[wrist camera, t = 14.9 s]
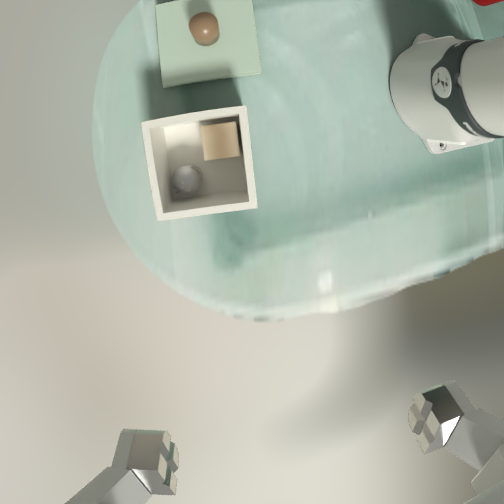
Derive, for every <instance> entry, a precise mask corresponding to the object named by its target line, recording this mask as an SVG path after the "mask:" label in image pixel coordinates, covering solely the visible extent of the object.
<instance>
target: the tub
mask: <svg viewBox="0 0 504 504" xmlns="http://www.w3.org/2000/svg"><path fill="white" fill-rule="evenodd" d="M229 122H236V127H237V136H238V144H239V153H240V156H237V157H229V158H221V159H214V160H206V161H205V159H204V151H203V144H202V136H201V128H200V126H207V125H214V124H221V123H229ZM141 124H142V131H143V138H144V145H145V152H146V159H147V165H148V171H149V177H150V183H151V189H152V194H153V200H154V205H155V210H156V216H157V221H163V220H170V219H177V218H184V217H192V216H199V215H206V214H214V213H222V212H230V211H238V210H246V209H254V208H258V207H257V198H256V189H255V180H254V171H253V162H252V153H251V144H250V135H249V126H248V117H247V109H246V106H237V107H228V108H220V109H213V110H206V111H199V112H193V113H187V114H181V115H176V116H170V117H165V118H160V119H155V120H150V121H145V122H141ZM185 164H193V165H196V166H197V167H199V168H200V170H201V171H202V174H203V181H202V184H201V186H200V187H199V189H198V191H197V192H196V193H194V194H193V195H190V196H181V195H179V194H177V193H176V192H175V191H174V190H173V188H172V186H171V177H172V175H173V173H174V172H175V171H176V170H177V169H178V168H180V167H181V166H183V165H185Z"/></svg>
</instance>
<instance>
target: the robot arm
mask: <svg viewBox="0 0 504 504" xmlns="http://www.w3.org/2000/svg"><path fill="white" fill-rule="evenodd" d="M390 91H391V96H392V100H393V103H394V105H395V108H396V110H397V112H398V114H399V115H400V117H401V119H402V120H403V121H404V123H405V124H406V125H407V126H408V127H409V128H410V129H411V130H413V131H414V132H415V133H416V134H417V135H419V136H420V137H421V139H422V140H423V142H424V144H425V146H426V148H427V149H428V151H429V152H430V153H432V154H440V153H444V152H448V151H452V150H456V149H461V148H465V147H469V146H474V145H478V144H483V143H487V142H491V141H494V140H495V138H503V137H504V36H502V37H499V38H496V39H491V40H487V41H484V40H479V39H477V40H465V41H464V40H458V39H455V37H454V36H445V37H440V38H435V37H432V36H430V35H428V34H425V33H423V34H419V35H417V36H416V38H415V40H414V42H413V44H412V46H411V47H410V48H408V49H407V50H405V51H404V52H402V53H401V54H400V55H399V56H398V57H397V59H396V60H395V62H394V64H393V67H392V70H391V74H390ZM440 143H441V147H440ZM413 400H414V402H415V403H414V404H413V405H412V406H411V407H410V410H409V413H408V421H409V425H410V427H411V429H412V432H414V433H416V434H418V435H419V436H418V440H417V442H418V443H419V445H420V447H421V449H422V451H423V453H424V454H427V453H429V452H432V451H435V450H437V449H440V448H442V447H444V448H445V449H446V450H448V451H449V452H451V453H452V454H454V455H455V456H457V457H458V458H460V459H461V460H463V461H465V462H466V463H467V464H469V465H471V466H472V467H474V468H475V469H477V470H478V471H479V472H478V474H477V475H476V476H475V477H474V478H473V479H472V482H471V485H472V487H473V489H474V492H475V494H476V497H474V498H472V499H470V500H468V501H467V502H465V503H463V504H504V419H503V418H500V417H498V416H496V415H493V414H491V413H489V412H487V411H485V410H482V409H480V408H478V409H476V408H475V407H474V406H473V404H472V403H471V401H470V400H469V399H468V397H467V396H466V394H465V393H464V392H463V390H462V389H461V388H460V386H459V385H458V384H457V382H456V381H454V380H451V381H448V382H445V383H443V384H439V385H436V386H433V387H431V388H428V389H425V390H422V391H419V392H417V393H416V394H415V395H414V398H413ZM170 440H171V436H170V434H169V432H168V431H158V430H157V431H156V430H137V429H123V430H122V432H121V433H120V437H119V440H118V444H117V448H116V452H115V455H114V459H113V462H112V466H111V467H107V468H106V469H105V470H103V471H102V472H101V473H100V474H99V475H98V476H97V477H95V478H94V479H93V480H92V481H91V482H90V483H89V484H87V485H86V486H85V487H84V488H83V489H82V490H81V491H79V492H78V493H77V494H76V495H74V496H73V497H72V498H71V499H70V500H69V501H67V502H66V503H65V504H145V503H146V502H147V501H148V499H149V498H150V497H151V494H158V495H176V486H177V478H176V477H175V475H174V472H175V471H176V470H177V469H178V466H179V456H178V451H177V448H176V445H175V444H174V443H172V442H171V441H170Z"/></svg>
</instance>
